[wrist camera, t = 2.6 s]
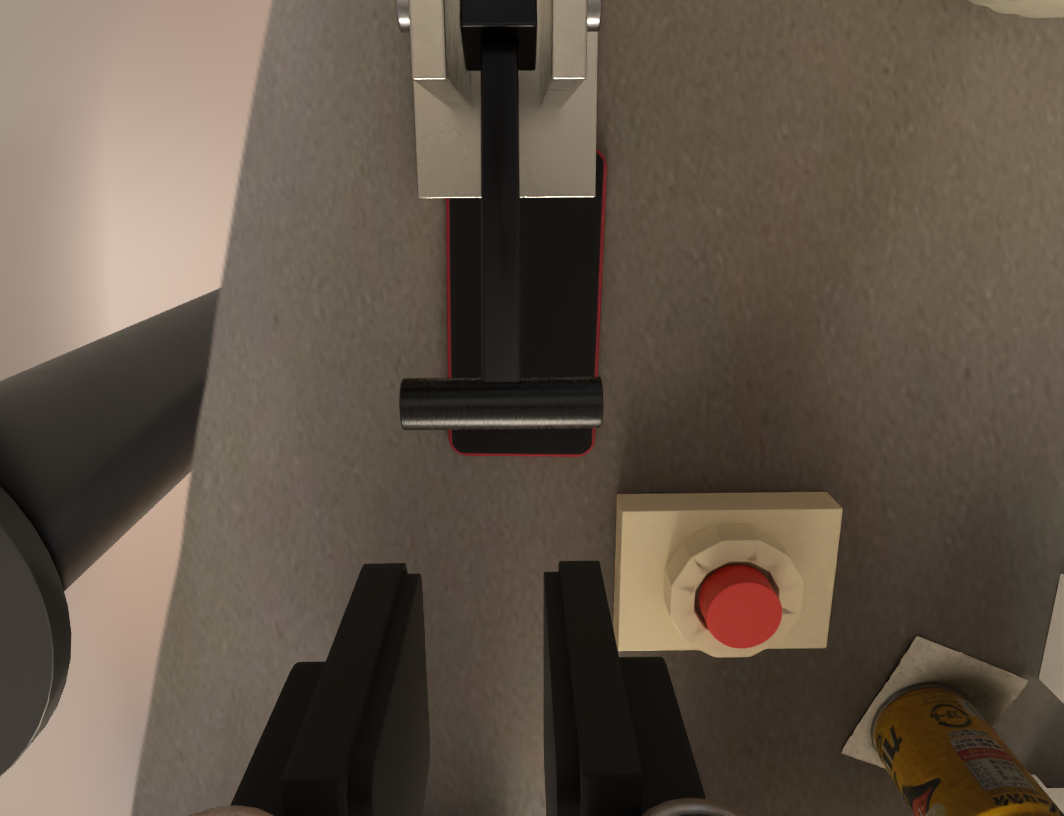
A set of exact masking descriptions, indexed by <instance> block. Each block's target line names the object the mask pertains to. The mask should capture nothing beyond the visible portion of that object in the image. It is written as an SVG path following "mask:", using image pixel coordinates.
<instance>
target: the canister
mask: <svg viewBox="0 0 1064 816" xmlns="http://www.w3.org/2000/svg"><path fill="white" fill-rule="evenodd" d="M969 1H970V2H971V3H973V4H975V5H983V6H987V7H989V8H990V9H992V10H993V11H995V12H998V13H1003V14H1017V15H1020V16H1022V17H1028V18H1055V17H1064V0H969Z"/></svg>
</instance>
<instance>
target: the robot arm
mask: <svg viewBox="0 0 1064 816" xmlns="http://www.w3.org/2000/svg"><path fill="white" fill-rule="evenodd" d="M429 760H430V729H429V709H428V690H427V670H426V651H425V631H424V612H423V592H422V579H421V574H407V568H406V564H405V563H388V564H364V565H363V567H362V569H361V571H360V574H359V577H358V579H357V582H356V584H355V587H354V590H353V592H352V595H351V597H350V600H349V603H348V605H347V608H346V611H345V613H344V616H343V618H342V621H341V624H340V626H339V629H338V631H337V634H336V637H335V639H334V642H333V644H332V647H331V650H330V652H329V655H328V657H327V660H326V662H298V663H296V664H295V665H294V666H293V668H292V670H291V671H290V673H289V676H288V678H287V680H286V682H285V685H284V687H283V689H282V691H281V693H280V696H279V698H278V700H277V702H276V705H275V707H274V709H273V711H272V714H271V716H270V718H269V720H268V723H267V725H266V727H265V729H264V732H263V734H262V736H261V738H260V740H259V743H258V745H257V747H256V749H255V752H254V754H253V756H252V758H251V761H250V763H249V765H248V767H247V770H246V772H245V774H244V776H243V779H242V781H241V783H240V785H239V787H238V790H237V792H236V794H235V796H234V799H233V801H232V803H231V805H230V806H225V807H217V808H211V809H208V810H205V811H202V812H199V813H196V814H193V815H190V816H422V811H423V804H424V797H425V790H426V784H427V777H428V770H429ZM544 769H545V792H546V815H547V816H749V815H747V814H745V813H743V812H742V811H740V810H738V809H737V808H735V807H733V806H730V805H727V804H723V803H720V802H717V801H714V800H711V799H706V798H705V794H704V791H703V787H702V784H701V781H700V777H699V774H698V770H697V767H696V764H695V760H694V757H693V754H692V750H691V747H690V743H689V740H688V737H687V733H686V730H685V726H684V723H683V720H682V716H681V713H680V709H679V706H678V703H677V699H676V696H675V693H674V689H673V686H672V682H671V679H670V676H669V672H668V669H667V666H666V663H665V661H664V659H663V658H662V657H619V656H618V651H617V646H616V641H615V636H614V631H613V626H612V621H611V616H610V612H609V607H608V602H607V597H606V592H605V587H604V582H603V577H602V572H601V567H600V563H599V561H559V572H544Z"/></svg>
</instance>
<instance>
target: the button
mask: <svg viewBox="0 0 1064 816" xmlns="http://www.w3.org/2000/svg"><path fill="white" fill-rule="evenodd" d="M699 606H700V609H701V612H702V614H703V617H704V619H705V622H706V624H707V627H708V629H709V631H710V633H711V634H712V636H713V637H714V638H715V639H716V640H717V641H719V642H720V643H722V644H724V645H726V646H728V647H732V648H739V649H743V648H751V647H754V646H757V645H760V644H762V643H763V642H765V641H766V640H768V639H769V638H770V637H771V636H772V635H773V634H774V633H775V632H776V630H777V629H778V627H779V625H780V622H781V619H782V605H781V602H780V600H779V598H778V596H777V594H776V593H775V591H774V589H773V588H772V586H771V584H770V583H769V581H768V579H767V578H766V577H765V576H764V574H763V573H761V572H760V571H759V570H757V569H755V568H753V567H750V566H747V565H730V566H726V567H723V568H721V569H719V570H717V571H715V572H714V573H712V574H711V575H710V576H709V577H708V578H707V579H706V581H705V582H704V584H703V585H702V588H701V590H700V594H699Z"/></svg>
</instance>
